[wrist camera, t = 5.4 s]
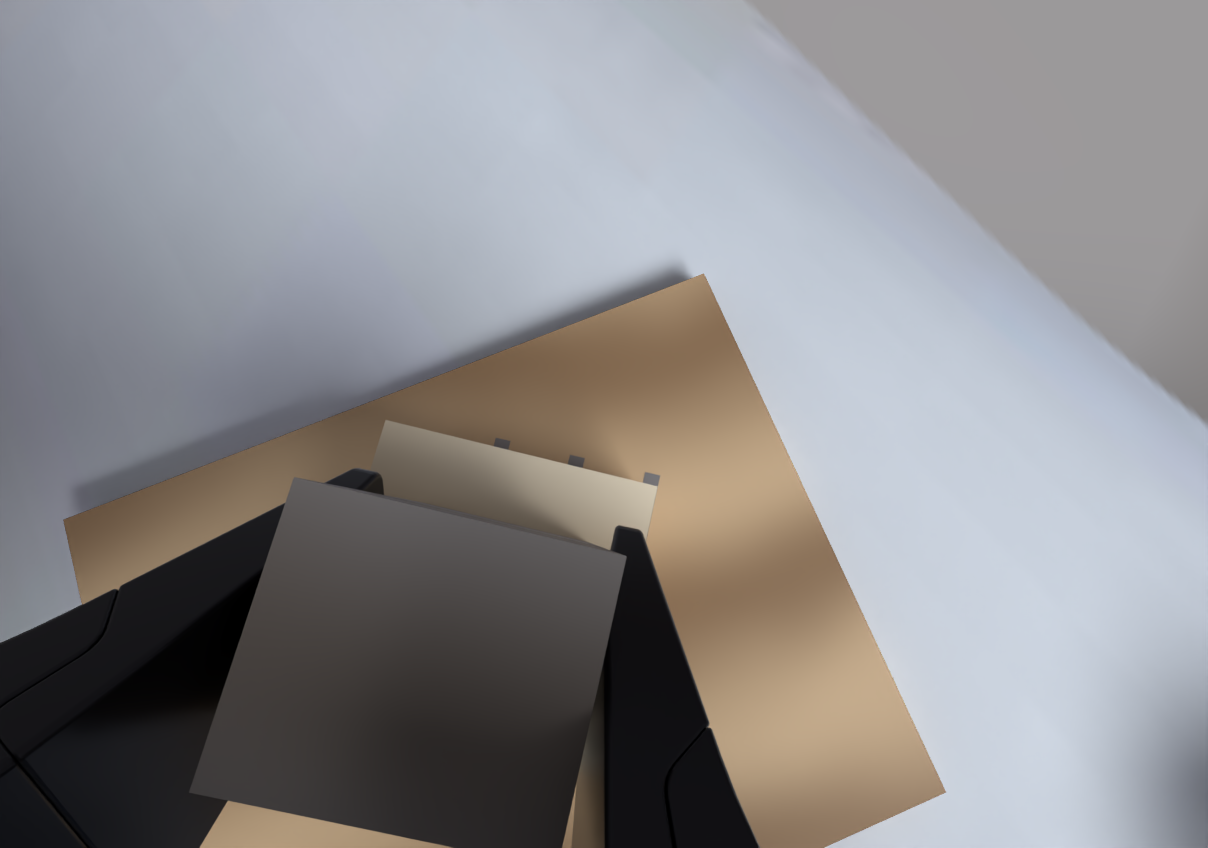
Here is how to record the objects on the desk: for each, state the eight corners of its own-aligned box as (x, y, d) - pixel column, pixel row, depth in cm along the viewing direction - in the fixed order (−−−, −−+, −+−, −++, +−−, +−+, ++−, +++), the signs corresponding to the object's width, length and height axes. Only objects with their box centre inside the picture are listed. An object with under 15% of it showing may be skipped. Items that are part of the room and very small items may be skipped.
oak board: (928, 779, 15) (946, 792, 14) (221, 1097, 14) (197, 1130, 13) (699, 285, 17) (703, 273, 17) (89, 521, 16) (63, 519, 16)
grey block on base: (585, 738, 14) (649, 1076, 6) (336, 683, 14) (-19, 948, 5) (640, 492, 15) (766, 447, 7) (410, 436, 15) (221, 309, 6)
